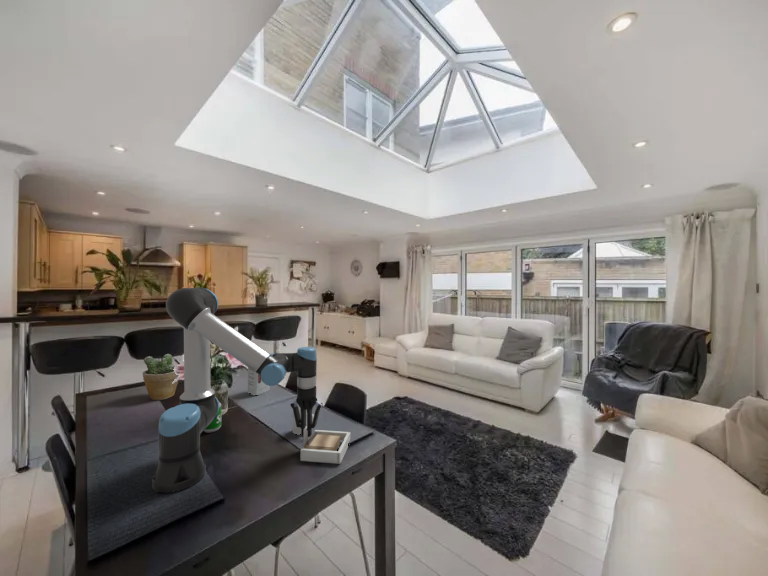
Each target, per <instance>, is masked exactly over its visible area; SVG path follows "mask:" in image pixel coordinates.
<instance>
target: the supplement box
mask: <svg viewBox="0 0 768 576" xmlns="http://www.w3.org/2000/svg"><path fill="white" fill-rule="evenodd" d="M270 389H271V386H268V385H266V384H264V383H263V381H262V379H261V376H260V375H259V374H257V373H256V372H254V371H253V370H252V369H250V368H249V367H247V393H248V392H250V393H252V394H256V395H257V394H260V393H263V392H266V391H268V390H270ZM252 394H251V395H252Z"/></svg>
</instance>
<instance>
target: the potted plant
mask: <svg viewBox="0 0 768 576" xmlns="http://www.w3.org/2000/svg"><path fill="white" fill-rule="evenodd" d="M143 362H144V364H145V365H146V370H144V371H142V378H143V381H144V384H145V388H146V391H147V393H148V396H149V398H150V400H152V401H162V400H167V399H170V398H172V397H173V396H175V392H176V391H177V386H178V384H179V380H178V381H177V382H175V383H174V384H172V382H173V381H174V379H175V378H176V377H177V375H176V374H175V372H174V370H173V369H174V367H175V366H176V365H174V364H173V355H172V354H170V353H167V354H164V355H163V357H162V358H161V360H159V359H158V358H154V357H153V356H150V355H149V356H146V357H145V358H144V359H143Z"/></svg>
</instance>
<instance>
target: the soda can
mask: <svg viewBox="0 0 768 576" xmlns="http://www.w3.org/2000/svg"><path fill="white" fill-rule="evenodd" d="M221 427H222V403H221V402H219V411H218V413H217V415H216V417H215V419H214V420H213V421H212V422H211V423H210V424H209V425H208V426H207V427H206V428H205V429H204V430H203V432H205V433H206V434H207V433H214V432H217V431H219V430H220V428H221Z"/></svg>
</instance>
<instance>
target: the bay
mask: <svg viewBox="0 0 768 576" xmlns="http://www.w3.org/2000/svg"><path fill="white" fill-rule="evenodd" d="M314 432H317V435H332V436H340V440H344V441H343V442H341V444H340V447H339V449H338V451H330V450H316V449H304V448H301V449H300V462H311V463H313V462H314V463H323V464H324V463H325V464H339V465H341V463H342V461H343V459H344V456H345V455H346V452H347V451H348V448H349V446H348V443H349V441H350V439H351V434H352V433H351V431H338V430H337V431H336V430H327V429H326V430H325V429H324V430H323V429H322V430H321V429H315V430H314ZM351 440H352V439H351Z"/></svg>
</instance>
